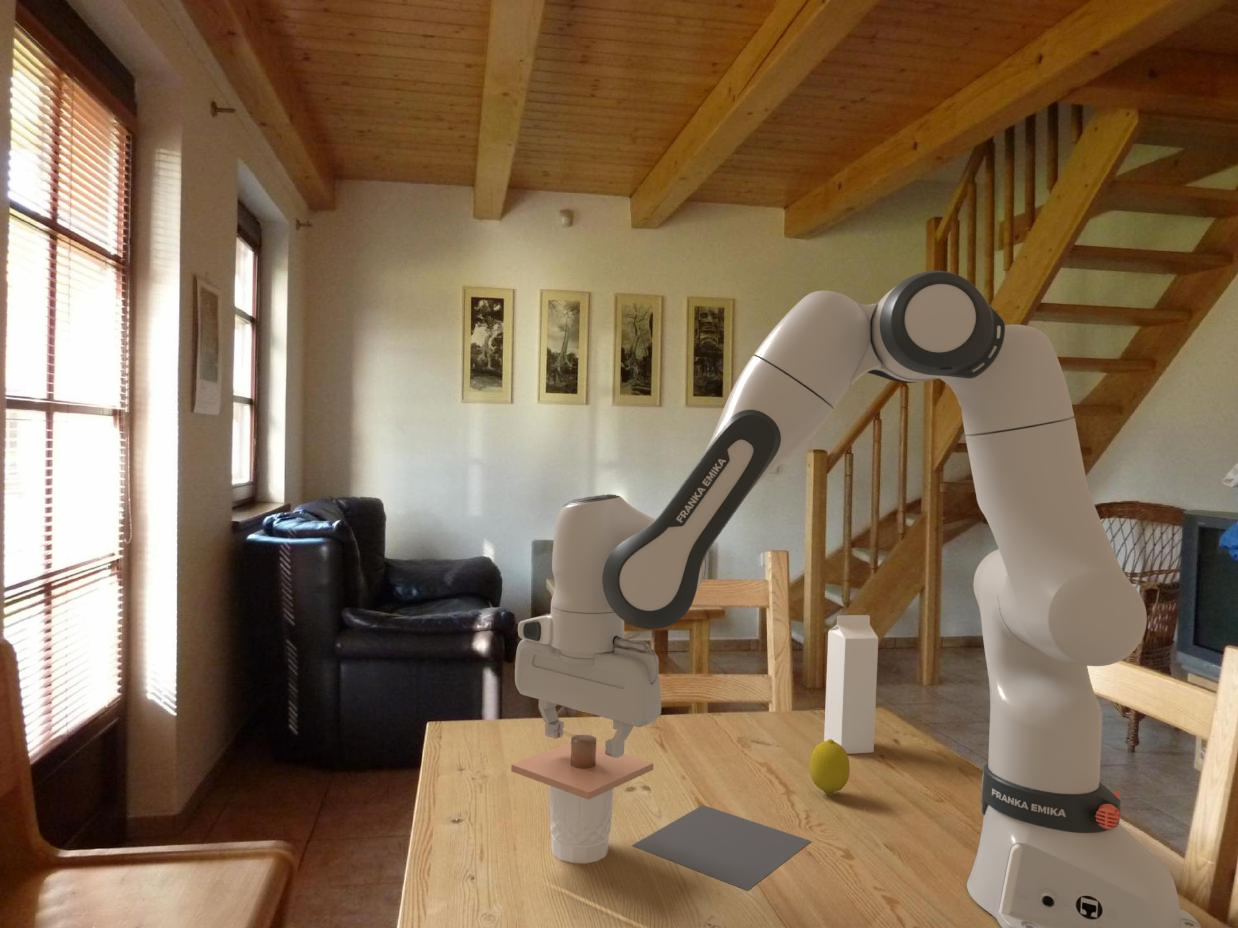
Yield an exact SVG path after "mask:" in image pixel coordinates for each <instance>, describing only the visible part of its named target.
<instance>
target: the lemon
mask: <svg viewBox="0 0 1238 928" xmlns="http://www.w3.org/2000/svg"><path fill="white" fill-rule="evenodd" d="M850 769H851V767H850V760H849V754H847V753H846V751H845V750H844V748H843V747H842V746H841V745H839V744H838V743H836V742H834V741H833V740H832V739H828V740H827V741H825V742H824V741H822V742H820V743H819V744H817V745H816V746H815V748H814V749H813V751H812V753H811V755H810V759H809V773H810V777H811V780H812V782H813V784H814V785H815V786H816V787H817V788H818V789H819V790H821V791H823V792H824V793H825V794H826V796H832V795H833V794H834V793H836V792H839V791H841V790H842V789H843V788H844V787H845V786H846V785H847V783H848V781H849V777H850V771H851V770H850Z"/></svg>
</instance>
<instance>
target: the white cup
mask: <svg viewBox="0 0 1238 928" xmlns="http://www.w3.org/2000/svg"><path fill="white" fill-rule="evenodd" d="M614 793H615V788H613V789H611V790H608V791H606V792H604V793H602V794H600V795H598V796H595V797H593V798H591V799H589V800H588V799H585V798H582V797H580V796H577V795H574V794H572V793H569V792H566V791H563V790H561V789H558V788H555V787H553V786H550V785H549V817H550V818H549V823H550V824H549V825H550V827H549V828H550V833H551V835H550V836H551V837H550V839H551V842H550V843H551V844H550V845H551V848H550V849H551V853H552V854H553V855H552V856H554V857H555V858H557V859H559V860H560V861H562V862H567V863H571V864H589V863H594V862H598V861H600V860H602V859H604V858H605V857H607V854H608V852H609V845H610V844H609V843H610V833H611V828H612V817H613V808H614V797H615V796H614Z"/></svg>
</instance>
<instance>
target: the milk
mask: <svg viewBox="0 0 1238 928" xmlns="http://www.w3.org/2000/svg"><path fill="white" fill-rule="evenodd" d="M836 618H837V619H836V625H835V626H833V627H832V628H829V630H828V634H827V635H828V636H827V656H826V683H825V706H824V707H825V708H824V709H825V710H824V711H825V712H824V734H823V735H824V736H823V742H825V741H827V740H828V739H832V740H833V741H834V742H836V743H838V744H839V745H841V746H842V747H843V748H844V750H845V751H846V753H847V755H849V754H850V755H852V754H853V755H854V754H868V753H869V754H870V753H875V750H874V749H875V729H876V727H875V725H876V707H877V706H876V705H877V704H876V702H877V680H878V679H877V677H878V674H877V673H878V653H879V652H878V651H879V650H878V649H879V637H878V635H877V634H876V632H875V630H874V629H873V627H872V626H871V623H870V622H871V616H870V615H869V614H865V615H864V614H863V615H862V614H857V615H856V614H855V615H854V614H853V615H851V614H850V615H838V616H837V617H836Z"/></svg>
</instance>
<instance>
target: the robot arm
mask: <svg viewBox="0 0 1238 928" xmlns="http://www.w3.org/2000/svg"><path fill="white" fill-rule="evenodd" d="M987 301H988V300H986V298H985V297H984V295H983V294H982V293H981V292H980V291H979V290H978V288H977V287H976V286H975V285H974V284H973V283H971V281H969V280H968V279H966V278H965V277H964V276H961V275H959V274H957V273H954V272H950V271H944V270H927V271H922V272H918V273H915V274H914V275H910V276H909V277H907V278H905V279H904V280H902V281H901V282H900V283H898V284H897V285H896V286H894V287H892V289H891V290H889V291H888V292H887V293H886V294H885V295H883V297H882V298H881V299H880V300H879V301H877V302H875V303H872V304H863V303H858V302H856V301H855V300H854V299H852V298H851V297H849V296H847V295H845V294H843V293H840V292H836V291H832V290H816V291H813V292H810V293H808V294H807V295H805V296H804V297H803V298H802V299H801V300H799V301H798V302H797V303H796V304H795V305H793V307H792V308H791V309H790V310H789V311H788V312H787V313H786V314H785V315H784V316H783V318H781V319H780V321H778V323H777V324H776V325H775V327H774V328H773V329H772V330H771V331H770V332H769V333H768V335H767V336H766V337H765V338H764V340H763V341H762V342H761V344H760V345H759V346H758V348H757V349H756V350H755V352H754V353H753V355H752V356H751V358H750V359H749V360H748V362H747V363H746V365H745V366H744V368H743V369H742V371H741V374H739V376H738V378H737V379H736V381H735V384H734V385H733V387H732V389H731V391H730V394H729V395H728V398H727V400H726V403H725V405H724V407H723V409H722V412H721V414H720V417H719V419H718V421H717V424H716V426H715V430H714V431H713V434H712V437H711V439H710V441H709V443H708V445H707V447H706V449H705V451H704V452H703V455H701V457H700V459H699V460H698V462H697V464H696V465H695V466H694V467H693V469H692V470H691V472H690V473H689V474H688V476H687V477H686V479H685V480H684V482H683V483H682V484H681V486H680V487H679V488H678V490H677V491H676V492H675V494H674V495H673V497H672V498H671V500H669V502H668V503H667V505H666V506H665V507H664V509H663V511H661V513H660V514H659V515H658V517H656V518H653V517H651V516H649V515H647V514H645V513H643V512H642V511H640V510H638V509H636V508H635V507H633V506H632V505H630V503H628V502H627V501H626V500H625V499H624V498H623V497H621V496H620V495H617V494H611V493H609V494H600V495H594V496H587V497H586V496H585V497H582V498H576V499H572V500H571V501H568V502H567V503H565V504H564V505H563V506H562V507H561V508H560V509H559V511H558V513H557V517H556V520H555V521H556V522H555V527H554V535H553V542H552V544H553V545H552V558H551V559H552V561H551V571H552V572H551V573H552V575H553V579H554V589H553V595H552V597H551V601H550V612H549V613H544V614H543V615H540V616H535V617H531V618H528V619H524V620H520V621H519V622H518V625H517V633H518V637H519V638H520V639H521V640H520V641H519V642H518V645H517V648H516V654H515V662H514V666H515V668H514V682H515V687H516V688H517V691H518V692H519V694H520V695H523V696H525V697H529V698H534V699H538V710H539V713H540V715H541V717H542V719H543V723H545V725H544V726H545V727H544V729H545V730H544V731H545V733H544V735H545V736H546V737H547V738H552V739H554V740H557V739H558V738H562V737H563V735H564V728H565V727H564V725H565V723H564V721H561V720H560V718H559V716H558V712H557V708H556V706H562V707H565V708H568V709H573V710H575V711H580V712H582V713H583V712H584V713H587V714H591V715H593V716H597V717H602V718H605V719H609V720H611V721H612V729H614V730H616V731H615V733H614V735H613V737H611V738H610V739H607V740H605V745H604V746H605V747H604V748H606V750H605V754H606V755H608V756H611V757H614V758H619V757H621V756H623V754H625V744H626V743H625V742H626V740H627V738H628V737H629V735H630V734H631V732H632V730H633V728H634V727H636V728H643V727H645V726H649V725H650V724H653V723H655V722H656V721H657V720H658V719H659V718H660V716H661V714H662V694H661V693H662V691H661V684H660V676H659V668H660V666H659V665H660V660H659V656H658V654H656V652H655V651H654V650H653V648H651V647H650V645H649V643H647V642H645V641H635V640H632V639H629V638H625V623H627V624H629V625H630V626H633V627H636V628H640V629H644V630H658V629H660V630H661V629H664V628H667V627H670V626H672V625H673V624H675V623H677V622H678V621H679V620H681V619H682V618H683V617H684V616H685V615H686V614H687V613H688V611H689V610H690V608H691V606H692V604H693V602H694V600H695V597H696V593H697V591H698V589H699V588H700V586H701V584H702V582H703V579H704V577H705V573H706V570H707V569H706V568H707V566H706V565H707V562H706V556H707V554H708V553H709V550H710V549H711V547H712V546H713V544H714V543H715V541H716V540H717V538H718V537H719V536H720V535H721V533H722V532H723V530H724V529H725V527H726V526H727V525H728V523H729V521H730V520H731V519H732V518H733V516H734V514H735V513H736V512H737V510H738V509H739V507H740V506H742V505H741V504H743V502H744V500H745V499H746V498H747V496H748V495H749V494H750V493H751V491H753V490H754V488H755V487H756V486H758V484H759V483H760V482H761V481H763V479H765V478H766V477H767V476H768V475H769V474H771V473H772V472H773V471H774V470H775V469H777V468H778V467H779V466H781V465H782V464H783V463H785V462H787V461H788V460H789V459H791V458H792V457H793V456H794V455H795V454H796V453H797V452H799V451H800V450H801V449H802V448H803V447H804V446H805V445H806V444H807V443H808V442H809V441H810V440H811V438H813V437H814V436H815V435H816V434H817V432H818V431H819V430H820V429H821V428H822V426H823V425H824V424H825V423H826V422H827V420H828V419H829V417H830V416H831V415H832V414H833V412H834V410H836V408H837V406H838V405H839V404H840V402H841V400H842V399H843V397H844V396H845V395H846V393H847V392H848V391H849V389H850V388H851V387H853V385H854V383H856V382H857V381H858V380H859V379H860V377H862V376H863V375H865V374H866V373H867V374H871V375H873V376H874V375H875V376H878V377H881V378H884V379H886V380H889V381H893V382H897V383H902V384H903V383H904V384H905V383H906V384H915V383H920V382H921V383H923V382H929V381H934V380H937V379H940V380H941V381H943V382H944V383H945V384H946V385H948V387H950V389H951V390H952V391H953V394H954V395H955V397H956V399H957V402H958V405H959V407H960V408H961V417H962V418H961V419H962V424H963V429H964V430H963V431H964V435H965V436H964V437H965V442H966V448H967V453H968V458H969V464H970V468H971V469H970V470H971V475H972V480H973V485H974V486H973V487H974V491H975V495H976V496H975V497H976V502H977V504H978V505H977V506H978V507H979V509H980V511H981V512H982V514H983V515H984V517H985V520H986V521H987V523H988V526H989V528H990V530H991V533H992V535H993V538H994V541H995V543H996V545H997V548H998V549H995V550H993V551H992V552H990V553H988V554H987V555H986V556H985V557H984V558H983V559H982V560H981V561H980V563H979V564H978V565H977V567H976V570H975V573H974V576H973V577H974V578H973V593H974V596H975V600H976V602H977V604H978V609H979V613H980V619H981V622H980V623H981V630H982V631H981V632H982V639H983V640H982V641H983V648H984V655H985V662H986V669H987V676H988V677H987V678H988V684H989V700H990V701H989V706H990V710H989V712H990V713H989V729H988V730H989V733H988V734H989V735H988V760H987V763H985V764H984V766H983V767H984V768H983V773H982V778H981V791H980V792H981V793H980V794H981V795H980V796H981V797H980V803H981V813H982V815H983V821H982V827H981V833H980V838H979V843H978V848H977V852H976V856H975V860H974V863H973V867H972V869H971V872H970V873H969V877H968V879H967V882H966V888H967V890H968V891H967V892H968V894H969V895H970V897H971V898H972V899H973V901H974V902H975V903H976V904H977V905H979V907H981V908H982V909H984V910H985V911H986V912H988V913H989V914H990V915H992V916H993V917H994V918H995V919H996V920H997V922H998V924H999V925H1000V927H1001V928H1202V927H1201V924H1200V923H1199V922H1198V921H1197V919H1196V918H1195V917H1193V915H1191V913H1190V912H1188V911H1186V910H1183V909H1182V908H1181V907H1180V901H1179V896H1178V891H1177V888H1176V884H1175V883H1176V882H1175V881H1174V878H1173V876H1172V873H1171V872H1170V870H1169V869H1168V867H1167V866H1166V864H1165V863H1164V862H1162V860H1160V859H1159V858H1158V857H1157V856H1156V855H1155V854H1153V853H1152V852H1151V851H1150V850H1149V849H1148V848H1146V846H1144V845H1143V844H1142V843H1141V842H1140V841H1139V840H1138V839H1136V838H1135V836H1133V835H1132V834H1131V833H1130V832H1129V831H1128V830H1127V829H1126V828H1124V827H1123V826H1122V825H1121V823H1120V819H1121V808H1122V807H1121V793H1120V790H1118V789H1116V791H1115V793H1113V792H1112V791H1111V790H1110V789H1109V788H1108V787H1107V786H1106V785H1104V783H1102V782H1101V781H1100V780H1101V779H1100V778H1101V777H1100V776H1101V761H1102V760H1101V756H1102V755H1101V754H1102V737H1103V736H1102V733H1103V732H1102V731H1103V713H1102V707H1101V704H1100V703H1099V700H1098V698H1097V696H1096V694H1095V691H1094V689H1093V684H1092V681H1091V677H1090V673H1089V667H1104V666H1111V665H1113V664H1117V663H1119V662H1121V661H1123V660H1124V659H1126V658H1128V657H1129V656H1130V655H1131V654H1132V653H1133V652H1134V651H1136V649H1137V648H1138V646H1139V645H1140V643H1142V640H1143V638H1144V637H1145V636H1144V635H1145V634H1146V633H1145V632H1146V629H1147V622H1148V618H1147V617H1148V616H1147V609H1146V606H1145V602H1144V600H1143V598H1142V595H1141V594H1140V593H1139V591H1138V590H1137V588H1136V587H1135V586H1134V584H1132V582H1131V581H1130V579H1129V578H1128V577H1127V575H1126V574H1125V572H1124V570H1123V568H1122V567H1121V565H1120V563H1119V561H1118V558H1117V556H1116V554H1115V551H1114V549H1113V546H1112V544H1111V542H1110V539H1109V537H1108V534H1107V532H1106V530H1105V527H1104V525H1103V522H1102V520H1101V519H1100V515H1099V513H1098V510H1097V508H1096V505H1095V502H1094V500H1093V497H1092V494H1091V491H1090V488H1089V484H1088V481H1087V477H1086V476H1087V475H1086V470H1085V466H1084V462H1083V455H1082V450H1081V445H1080V444H1081V443H1080V440H1079V435H1078V434H1079V433H1078V429H1077V424H1076V418H1075V414H1074V413H1075V412H1074V409H1073V404H1072V400H1071V396H1070V392H1069V389H1068V384H1067V381H1066V377H1065V375H1064V371H1063V369H1062V366H1061V364H1060V361H1059V358H1058V355H1057V353H1056V350H1055V348H1054V346H1053V343H1052V342H1051V340H1050V338H1049V337H1048V336H1047V334H1045V333H1044V332H1043V331H1041V330H1040V329H1038V328H1036V327H1033V326H1029V325H1023V324H1013V323H1011V324H1005V321H1004V319H1003V318H1002V316H1000V315H999V313H998V312H996V311H995V309H994V308H993V307H992V306H991V305H990V304H989V302H987ZM1188 925H1190V926H1188ZM1191 926H1193V927H1191Z"/></svg>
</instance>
